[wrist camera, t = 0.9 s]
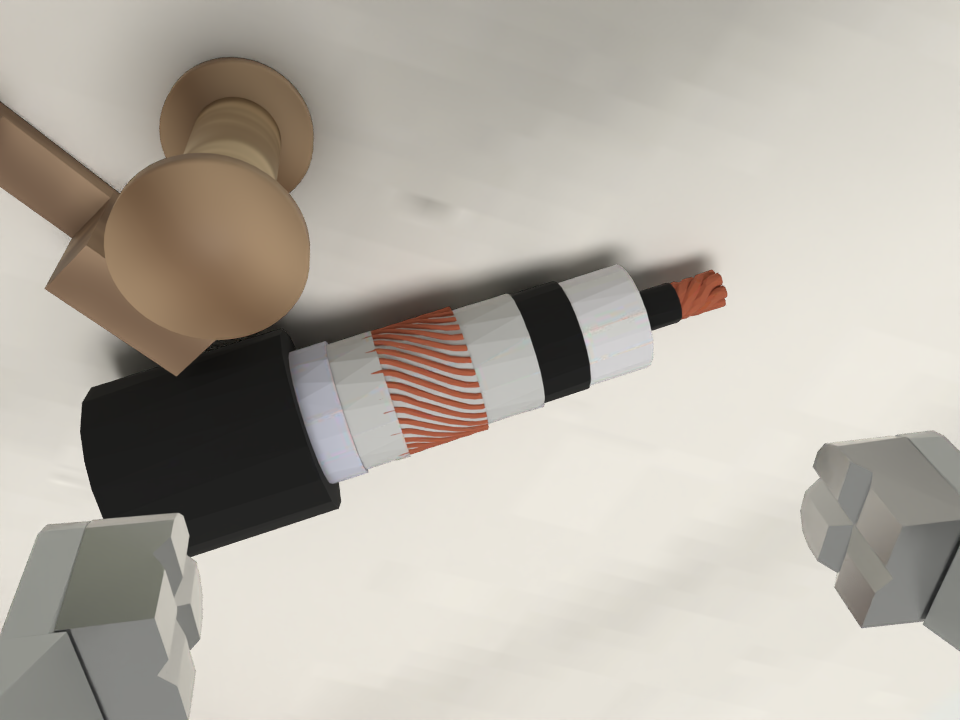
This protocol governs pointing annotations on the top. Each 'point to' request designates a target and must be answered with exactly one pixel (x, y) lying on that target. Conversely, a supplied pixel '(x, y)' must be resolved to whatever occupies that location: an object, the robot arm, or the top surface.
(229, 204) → the bobbin
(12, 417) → the top surface
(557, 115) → the top surface
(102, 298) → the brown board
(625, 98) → the top surface
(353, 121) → the top surface
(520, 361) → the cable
